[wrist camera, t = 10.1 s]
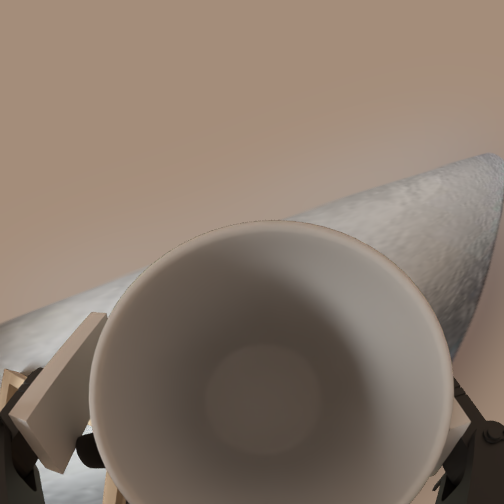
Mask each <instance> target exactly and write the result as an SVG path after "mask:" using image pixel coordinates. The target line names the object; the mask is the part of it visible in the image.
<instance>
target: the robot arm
mask: <svg viewBox="0 0 504 504" xmlns="http://www.w3.org/2000/svg"><path fill="white" fill-rule="evenodd" d="M107 319H108V318H107V314H106V313H96V312H91V313H90V315H89V316H88V317H87V318H86V319H85V320H84V321H83V322H82V324H81V325H80V326H79V327H78V328H77V329H76V330H75V332H74V333H73V334H72V335H71V336H70V337H69V339H68V340H67V341H66V342H65V343H64V344H63V346H62V347H61V348H60V349H59V350H58V352H57V353H56V354H55V355H54V356H53V358H52V359H51V360H50V361H49V362H48V364H47V365H46V366H45V367H44V368H42V367H40V368H38V369H37V370H35V371H34V372H32V373H31V374H30V375H29V376H28V377H27V378H26V380H25V381H24V382H23V384H22V385H21V386H20V387H19V388H18V391H16V392H15V393H14V395H13V396H12V397H11V398H10V400H9V401H8V402H7V404H6V405H5V406H4V408H3V409H2V410H1V412H0V504H45V501H44V496H43V491H42V486H41V481H40V475H39V471H38V468H37V466H36V465H35V463H36V462H37V460H38V459H39V460H40V461H41V463H42V464H43V465H44V466H45V468H47V469H50V470H52V471H55V472H58V473H60V474H63V473H64V471H65V469H66V467H67V465H68V463H69V461H70V458H71V456H72V454H73V452H74V450H75V448H76V440H77V438H78V437H80V436H82V434H83V432H84V430H85V428H86V426H87V424H88V422H89V420H90V409H89V381H90V373H91V366H92V362H93V357H94V353H95V349H96V346H97V343H98V340H99V338H100V335H101V332H102V330H103V328H104V326H105V324H106V321H107ZM453 378H454V377H453ZM441 466H443V468H444V470H445V474H444V475H443V476H442V477H441V479H440V480H439V481H438V482H437V483H436V485H435V486H434V488H433V491H435V490H436V489H437V488H438V487H439V486H440V488H439V492H438V496H437V500H436V503H435V504H504V426H503V425H502V424H500V423H499V422H495V421H486V420H485V419H484V417H483V416H482V415H481V413H480V412H479V410H478V409H477V408H476V406H475V405H474V404H473V402H472V401H471V399H470V398H469V397H468V395H466V393H465V391H464V390H463V389H462V388H460V385H459V383H458V382H457V381H456V379H455V378H454V401H453V412H452V418H451V424H450V428H449V432H448V436H447V439H446V443H445V445H444V448H443V451H442V453H441V456H440V458H439V460H438V462H437V464H436V466H435V468H434V470H433V472H432V474H431V476H434V475H435V474H436V473H437V472H438V470H439V469H440V468H441ZM431 476H430V477H431Z"/></svg>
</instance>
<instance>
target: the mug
mask: <svg viewBox="0 0 504 504" xmlns="http://www.w3.org/2000/svg"><path fill="white" fill-rule="evenodd" d="M453 401H454V378H453V369H452V362H451V357H450V353H449V349H448V345H447V342H446V339H445V336H444V333H443V330H442V328H441V326H440V323H439V321H438V319H437V317H436V315H435V313H434V311H433V310H432V308H431V306H430V304H429V303H428V301H427V300H426V298H425V297H424V295H423V294H422V293H421V291H420V290H419V288H418V287H417V286H416V285H415V284H414V283H413V281H412V280H411V279H410V278H409V277H408V276H407V275H406V274H405V273H404V272H403V271H402V270H401V269H400V268H399V267H398V266H397V265H396V264H394V263H393V262H392V261H391V260H389V259H388V258H387V257H386V256H384V255H383V254H381V253H380V252H378V251H377V250H375V249H374V248H372V247H371V246H369V245H367V244H365V243H363V242H361V241H360V240H358V239H356V238H353V237H351V236H349V235H346V234H344V233H342V232H339V231H336V230H333V229H330V228H327V227H323V226H318V225H314V224H310V223H303V222H296V221H281V220H268V221H254V222H245V223H240V224H235V225H230V226H226V227H222V228H219V229H216V230H212V231H209V232H207V233H204V234H202V235H199V236H197V237H195V238H193V239H191V240H189V241H187V242H185V243H183V244H181V245H179V246H177V247H176V248H174V249H172V250H171V251H169V252H168V253H166V254H165V255H163V256H162V257H161V258H159V259H158V260H157V261H155V262H154V263H153V264H151V265H150V266H149V267H148V268H147V269H146V270H145V271H144V272H143V273H142V274H141V275H139V277H138V278H137V279H136V280H135V281H134V282H133V283H132V284H131V285H130V286H129V288H128V289H127V290H126V291H125V293H124V294H123V295H122V297H121V298H120V299H119V301H118V302H117V304H116V306H115V307H114V309H113V311H112V312H111V314H110V316H109V317H108V319H107V321H106V324H105V326H104V328H103V330H102V332H101V335H100V338H99V340H98V343H97V346H96V349H95V353H94V357H93V362H92V366H91V373H90V381H89V409H90V419H91V425H92V430H93V433H90V434H86V435H82V436H80V437H78V438H77V440H76V450H77V454H78V456H79V458H80V460H81V461H82V462H83V464H84V465H86V466H87V467H89V468H106V470H107V471H108V473H109V475H110V477H111V479H112V480H113V482H114V484H115V485H116V487H117V488H118V490H119V491H120V492H121V494H122V495H123V496H124V498H125V499H126V500H127V501H128V503H129V504H410V503H411V502H412V501H413V499H414V498H415V497H416V496H417V494H418V493H419V492H420V491H421V489H422V488H423V486H424V485H425V483H426V482H427V480H428V479H429V477H430V476H431V474H432V472H433V470H434V468H435V466H436V464H437V462H438V460H439V458H440V456H441V453H442V451H443V448H444V445H445V443H446V439H447V436H448V432H449V428H450V424H451V418H452V412H453Z"/></svg>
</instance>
